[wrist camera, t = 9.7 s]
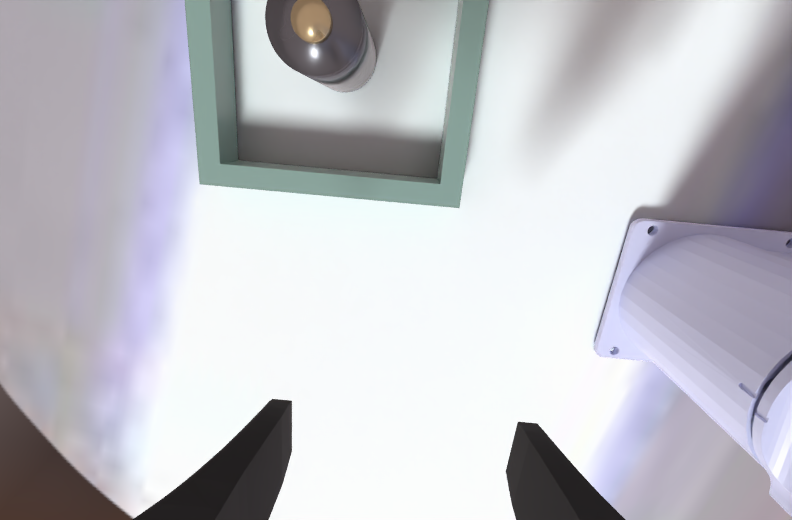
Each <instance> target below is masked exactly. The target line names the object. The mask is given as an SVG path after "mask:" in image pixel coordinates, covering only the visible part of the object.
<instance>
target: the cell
mask: <svg viewBox="0 0 792 520" xmlns="http://www.w3.org/2000/svg"><path fill="white" fill-rule="evenodd" d="M265 20H266V28H267V33H268V37H269V39H270V42H271V44H272V46H273V48H274V50H275V52H276V53H277V54H278V56H279V57H280V58H281V59H282V60H283V62H285V63H286V64H287V65H288V66H289V67H291V68H292V69H294V70H296V71H298V72H300V73H301V74H303V75H305V76H307V77H309V78H311V79H313V80H315V81H317V82H319V83H321V84H323V85H325V86H327V87H329V88H331V89H333V90H335V91H338V92H352V91H355V90H358V89H359V88H361V87H363V86H364V85H365V84H366V83H367V82H368V81H369V79H370V78H371V76H372V75H373V72H374V70H375V66H376V48H375V45H374V42H373V39H372V37H371V34H370V31H369V29H368V26H367V24H366V21H365V19H364V16H363V13H362V11H361V8H360V6H359V3H358V1H357V0H268V1H267V5H266V14H265Z"/></svg>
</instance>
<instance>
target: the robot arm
mask: <svg viewBox="0 0 792 520" xmlns="http://www.w3.org/2000/svg"><path fill="white" fill-rule="evenodd" d="M651 226H654V228H653V231H652V232H650V233H648V229H649V227H651ZM789 239H790V241H789V243H788V244H787V245H786V243H787V241H788V240H789ZM613 347H616V348H615V349H614V350H613V351H610V349H611V348H613ZM594 351H595V352H596V354H597V355H599V356H600V357H605V358H616V359H627V360H638V361H649V362H653V363H654V364H655V365H657V366H658V367H659V368H660V369H661V370H662V371H663V372H664V373H665V374H666V375H667V376H668V377H669V378H670V379H671V380H672V381H673V382H674V383H675V384H676V385H677V386H679V387H680V388H681V389H682V390H683V391H684V392H685V393H686V394H687V395H688V396H689V397H690V398H691V399H692V400H693V401H694V402H695V403H696V404H697V405H698V406H699V407H701V408H702V409H703V410H704V411H705V412H706V413H707V414H708V415H709V416H710V417H711V418H712V419H713V420H714V421H715V422H716V423H717V424H718V425H719V426H720V427H721V428H723V429H724V430H725V431H726V432H727V433H728V434H729V435H730V436H731V437H732V438H733V439H734V440H735V441H736V442H737V443H738V444H739V445H740V446H741V447H742V448H743V449H745V450H746V451H747V452H748V453H749V454H750V455H751V456H752V457H753V458H754V459H755V460H756V461H757V462H758V463H759V464H760V465H761V466H762V467H763V468H764V469H765V470H766V471H767V472H768V474H769V476H770V480H771V487H770V491H769V495H770V496H771V497H772V498H773V499H774V500H775V501H776V502H777V503H778V504H779V505H780V506H781V507H782V508H783V509H784V510H785V511H786V512H787V513H788V514H789V515H790V516H791V517H792V232H785V231H775V230H764V229H753V228H742V227H731V226H720V225H709V224H699V223H688V222H677V221H666V220H655V219H644V218H640V219H636V220H634V221H633V222H632V223H631V225H630V227H629V230H628V233H627V236H626V240H625V243H624V246H623V250H622V253H621V257H620V260H619V263H618V267H617V270H616V273H615V277H614V280H613V283H612V287H611V290H610V294H609V297H608V300H607V304H606V307H605V310H604V314H603V317H602V320H601V324H600V327H599V331H598V334H597V337H596V341H595V344H594ZM291 452H292V401H288V400H278V399H272V400H271V401H269V402H268V403H267V404H266V406H265V407H264V408H263V409H262V410H261V411H260V412H259V413H258V414H257V415H256V416H255V417H254V418H253V419H252V420H251V421H250V422H249V423H248V424H247V425H246V426H245V427H244V428H243V429H242V430H241V431H240V432H239V433H238V434H237V435H236V436H235V437H234V438H233V439H232V440H231V441H230V442H229V443H228V444H227V445H226V446H225V447H224V448H223V449H222V450H221V451H219V452H218V453H217V454H216V455H215V456H214V457H213V458H212V459H210V460H209V461H208V462H207V463H206V464H205V465H204V466H202V467H201V468H200V469H199V470H198V471H197V472H196V473H194V474H193V475H192V476H191V477H189V478H188V479H187V480H186V481H185V482H183V483H182V484H181V485H180V486H178V487H177V488H176V489H174V490H173V491H172V492H171V493H169V494H168V495H167V496H165V497H164V498H163V499H161V500H160V501H159V502H157V503H156V504H154V505H153V506H151V507H150V508H149V509H147V510H146V511H144V512H143V513H142V514H140V515H139V516H137V517H136V518H134V519H133V520H268V519H269V517H270V514H271V512H272V509H273V507H274V504H275V502H276V499H277V497H278V494H279V492H280V489H281V487H282V484H283V480H284V477H285V473H286V470H287V466H288V463H289V459H290V456H291ZM506 474H507V480H508V486H509V491H510V496H511V501H512V506H513V510H514V513H515V517H516V520H625V519H624V518H623V517H622V516H621V515H620V514H619V513H618V512H617V511H616V510H615V509H614V508H613V507H612V506H611V505H610V504H609V503H608V502H607V501H606V500H605V499H604V498H603V497H602V496H601V495H600V494H599V493H598V492H597V491H596V490H595V488H594V487H593V486H592V485H591V484H590V483H589V482H588V481H587V480H586V479H585V478H584V477H583V476H582V474H581V473H580V472H579V471H578V470H577V469H576V468H575V467H574V466H573V464H572V463H571V462H570V461H569V460H568V459H567V458H566V456H565V455H564V454H563V453H562V452H561V451H560V449H559V448H558V447H557V446H556V445H555V444H554V442H553V441H552V440H551V439H550V438H549V437H548V435H547V434H546V433H545V432H544V431H543V430H542V429H541V427H540V426H539V425H538V424H536V423H525V422H518V424H517V428H516V432H515V436H514V440H513V444H512V448H511V453H510V457H509V461H508V465H507V469H506Z"/></svg>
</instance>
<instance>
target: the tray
mask: <svg viewBox="0 0 792 520" xmlns="http://www.w3.org/2000/svg"><path fill="white" fill-rule="evenodd" d="M488 5H489V0H459V2H458V10H457V19H456V27H455V35H454V43H453V52H452V60H451V68H450V76H449V85H448V93H447V101H446V109H445V118H444V126H443V134H442V142H441V151H440V159H439V167H438V176H437V179H436V178H425V177H414V176H403V175H393V174H382V173H371V172H360V171H349V170H338V169H327V168H317V167H306V166H295V165H284V164H273V163H262V162H251V161H241V160H238V141H237V120H236V99H235V78H234V57H233V36H232V15H231V0H185V10H186V22H187V35H188V47H189V59H190V71H191V84H192V96H193V108H194V120H195V133H196V145H197V157H198V169H199V182H200V184H203V185H214V186H225V187H236V188H247V189H258V190H269V191H280V192H290V193H301V194H312V195H323V196H334V197H345V198H356V199H367V200H378V201H388V202H399V203H410V204H421V205H432V206H443V207H454V208H459V207H460V200H461V193H462V186H463V179H464V172H465V165H466V158H467V151H468V144H469V137H470V130H471V123H472V116H473V109H474V102H475V95H476V88H477V81H478V74H479V67H480V60H481V54H482V47H483V40H484V33H485V26H486V19H487V12H488Z"/></svg>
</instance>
